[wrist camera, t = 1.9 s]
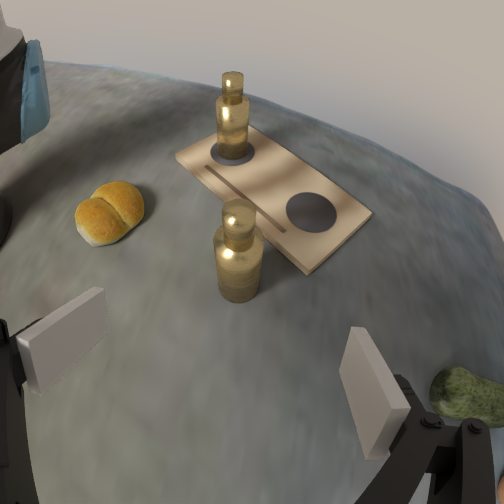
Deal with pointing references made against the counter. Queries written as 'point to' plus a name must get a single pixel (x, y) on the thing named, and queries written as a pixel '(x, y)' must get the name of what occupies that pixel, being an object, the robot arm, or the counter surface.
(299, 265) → the board
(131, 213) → the bread roll
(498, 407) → the vegetable
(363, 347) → the robot arm
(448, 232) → the counter surface
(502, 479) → the egg
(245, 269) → the brass bottle
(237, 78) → the gold bottle
